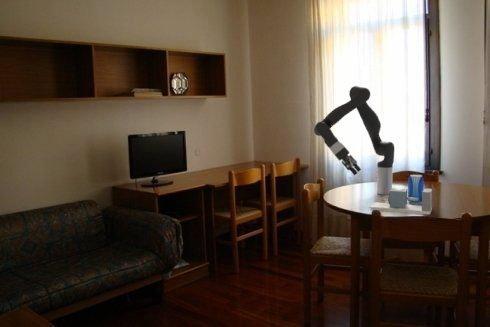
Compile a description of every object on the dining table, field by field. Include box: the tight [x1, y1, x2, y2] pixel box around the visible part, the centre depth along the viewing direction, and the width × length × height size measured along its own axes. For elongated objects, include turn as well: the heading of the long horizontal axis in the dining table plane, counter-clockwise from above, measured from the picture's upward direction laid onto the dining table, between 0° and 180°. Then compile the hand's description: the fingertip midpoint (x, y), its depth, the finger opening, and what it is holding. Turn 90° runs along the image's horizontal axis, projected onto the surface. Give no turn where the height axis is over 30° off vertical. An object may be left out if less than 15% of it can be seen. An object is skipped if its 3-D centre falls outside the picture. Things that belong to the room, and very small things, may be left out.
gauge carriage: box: [388, 187, 418, 208], centre depth 246 cm, size 10×15×9 cm, turn 63°
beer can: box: [407, 174, 425, 205], centre depth 261 cm, size 8×8×16 cm
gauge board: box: [370, 187, 433, 215], centre depth 247 cm, size 12×30×12 cm, turn 63°
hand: (357, 172), depth 258 cm, fingers open, 8 cm apart
